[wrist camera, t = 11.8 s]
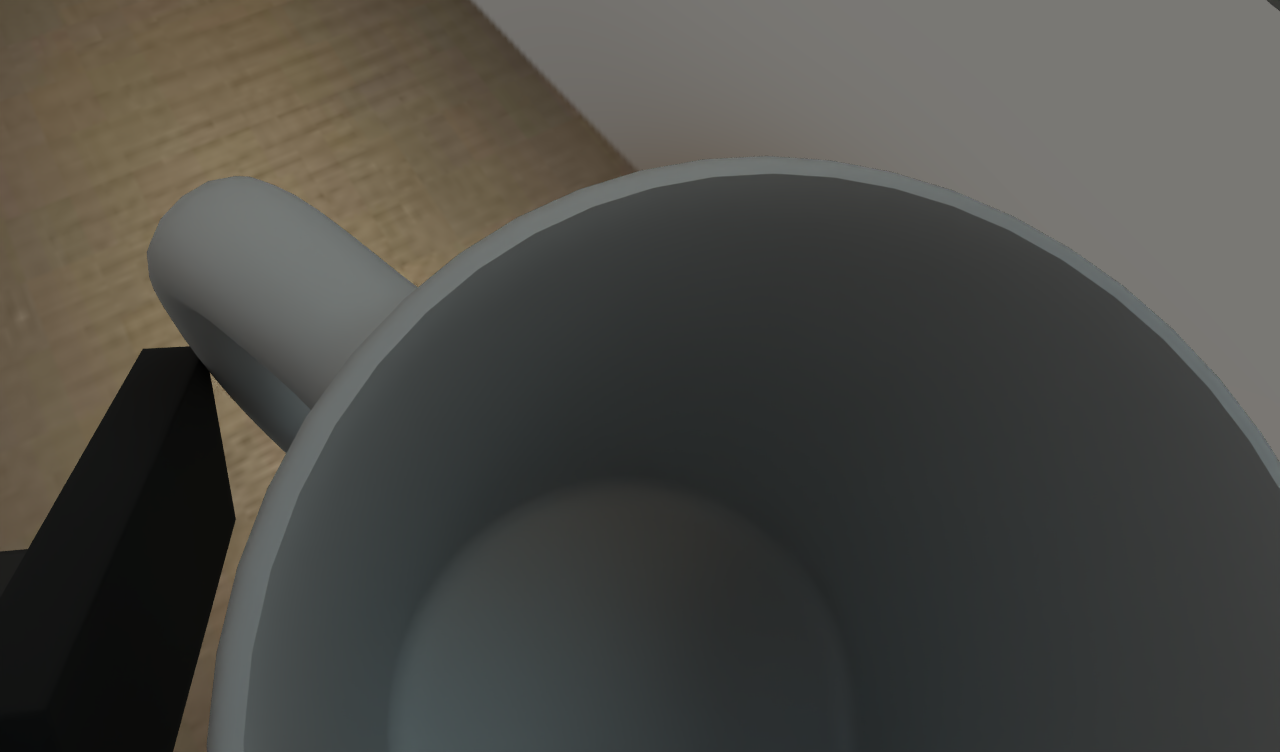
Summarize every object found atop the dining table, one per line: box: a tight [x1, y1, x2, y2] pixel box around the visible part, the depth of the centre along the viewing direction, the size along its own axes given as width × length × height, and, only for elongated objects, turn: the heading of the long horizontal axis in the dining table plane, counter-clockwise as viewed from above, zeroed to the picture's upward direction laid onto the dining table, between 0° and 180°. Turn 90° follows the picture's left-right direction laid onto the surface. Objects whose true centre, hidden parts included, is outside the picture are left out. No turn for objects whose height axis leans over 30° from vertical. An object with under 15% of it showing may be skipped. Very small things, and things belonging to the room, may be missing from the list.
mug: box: [147, 156, 1280, 752], centre depth 12 cm, size 12×8×11 cm
